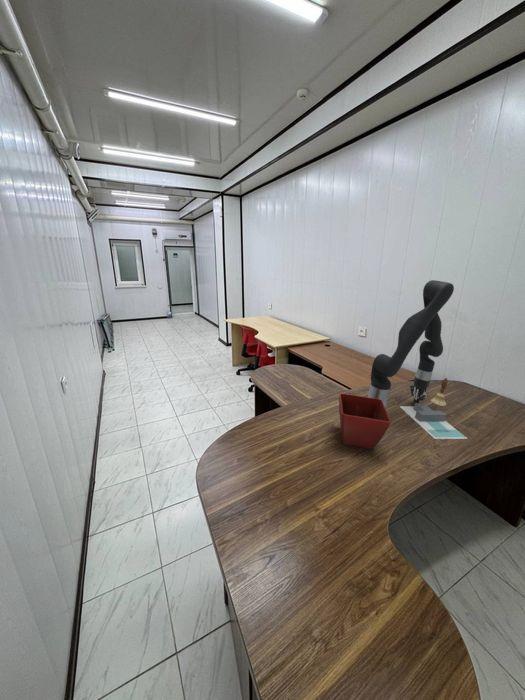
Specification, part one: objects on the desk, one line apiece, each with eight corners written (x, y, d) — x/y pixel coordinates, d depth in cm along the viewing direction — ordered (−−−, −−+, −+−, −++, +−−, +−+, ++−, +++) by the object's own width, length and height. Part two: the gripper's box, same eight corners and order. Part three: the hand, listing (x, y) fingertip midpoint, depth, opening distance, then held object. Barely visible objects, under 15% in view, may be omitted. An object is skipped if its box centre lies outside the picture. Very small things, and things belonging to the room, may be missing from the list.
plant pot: (382, 456, 114) (391, 422, 109) (335, 448, 118) (342, 414, 112) (374, 430, 132) (381, 399, 127) (333, 423, 135) (339, 392, 130)
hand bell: (449, 406, 160) (457, 382, 155) (435, 405, 160) (443, 380, 155) (441, 399, 168) (448, 375, 163) (427, 398, 168) (434, 374, 162)
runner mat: (434, 439, 129) (434, 438, 128) (399, 406, 156) (399, 406, 156) (467, 439, 131) (467, 438, 130) (426, 406, 158) (427, 406, 158)
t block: (419, 421, 142) (421, 414, 140) (405, 409, 153) (407, 402, 152) (444, 421, 143) (446, 414, 142) (429, 409, 155) (430, 402, 153)
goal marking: (435, 437, 130) (435, 437, 129) (416, 420, 143) (416, 420, 143) (465, 437, 131) (466, 437, 131) (444, 420, 145) (444, 420, 145)
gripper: (409, 372, 156) (402, 399, 162) (424, 382, 144) (416, 411, 149) (421, 372, 157) (413, 399, 163) (437, 382, 144) (429, 411, 150)
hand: (415, 405), depth 156 cm, fingers closed
